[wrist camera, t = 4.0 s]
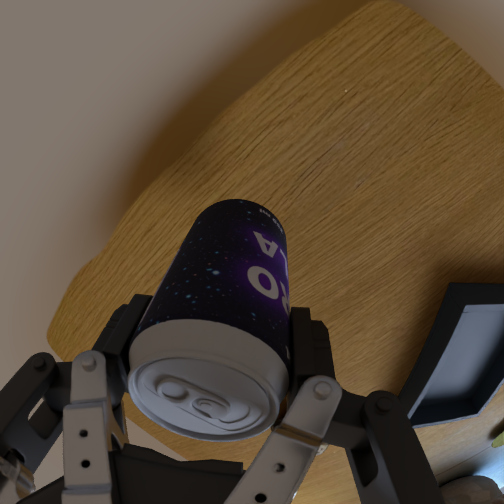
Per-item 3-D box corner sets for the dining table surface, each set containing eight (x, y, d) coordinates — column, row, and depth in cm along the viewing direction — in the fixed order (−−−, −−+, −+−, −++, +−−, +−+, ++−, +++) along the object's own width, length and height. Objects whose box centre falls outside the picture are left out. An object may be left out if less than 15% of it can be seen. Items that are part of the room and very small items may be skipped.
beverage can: (253, 291, 21) (234, 459, 11) (178, 249, 20) (100, 403, 10) (304, 226, 19) (331, 396, 8) (222, 175, 18) (146, 309, 7)
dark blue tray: (449, 282, 26) (465, 304, 23) (534, 283, 25) (550, 301, 22) (390, 408, 35) (396, 430, 32) (470, 397, 34) (478, 416, 31)
